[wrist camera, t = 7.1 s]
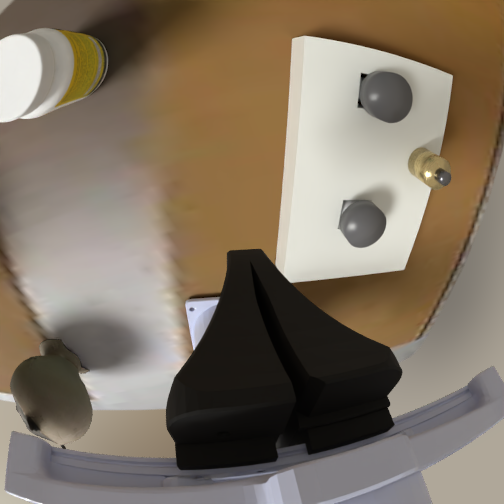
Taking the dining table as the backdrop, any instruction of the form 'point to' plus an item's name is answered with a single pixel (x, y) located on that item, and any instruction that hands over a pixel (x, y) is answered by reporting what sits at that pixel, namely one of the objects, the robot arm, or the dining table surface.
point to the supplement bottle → (48, 71)
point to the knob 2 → (361, 222)
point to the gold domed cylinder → (429, 168)
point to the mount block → (352, 159)
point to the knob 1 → (385, 96)
